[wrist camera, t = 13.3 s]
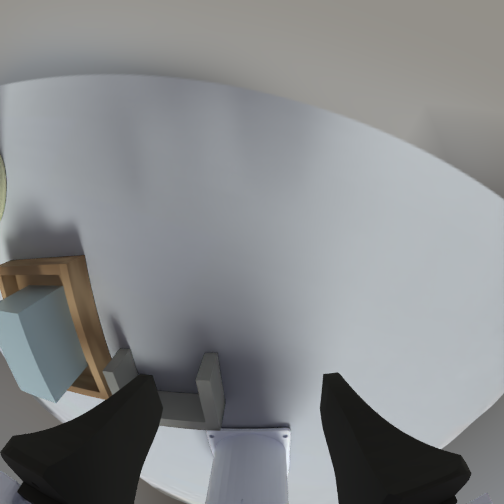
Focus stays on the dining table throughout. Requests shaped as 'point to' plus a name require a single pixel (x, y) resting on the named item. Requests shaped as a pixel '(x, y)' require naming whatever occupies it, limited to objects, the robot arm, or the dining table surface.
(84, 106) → the dining table surface
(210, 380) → the bay
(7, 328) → the pale blue cuboid
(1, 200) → the can
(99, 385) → the tray
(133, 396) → the robot arm
